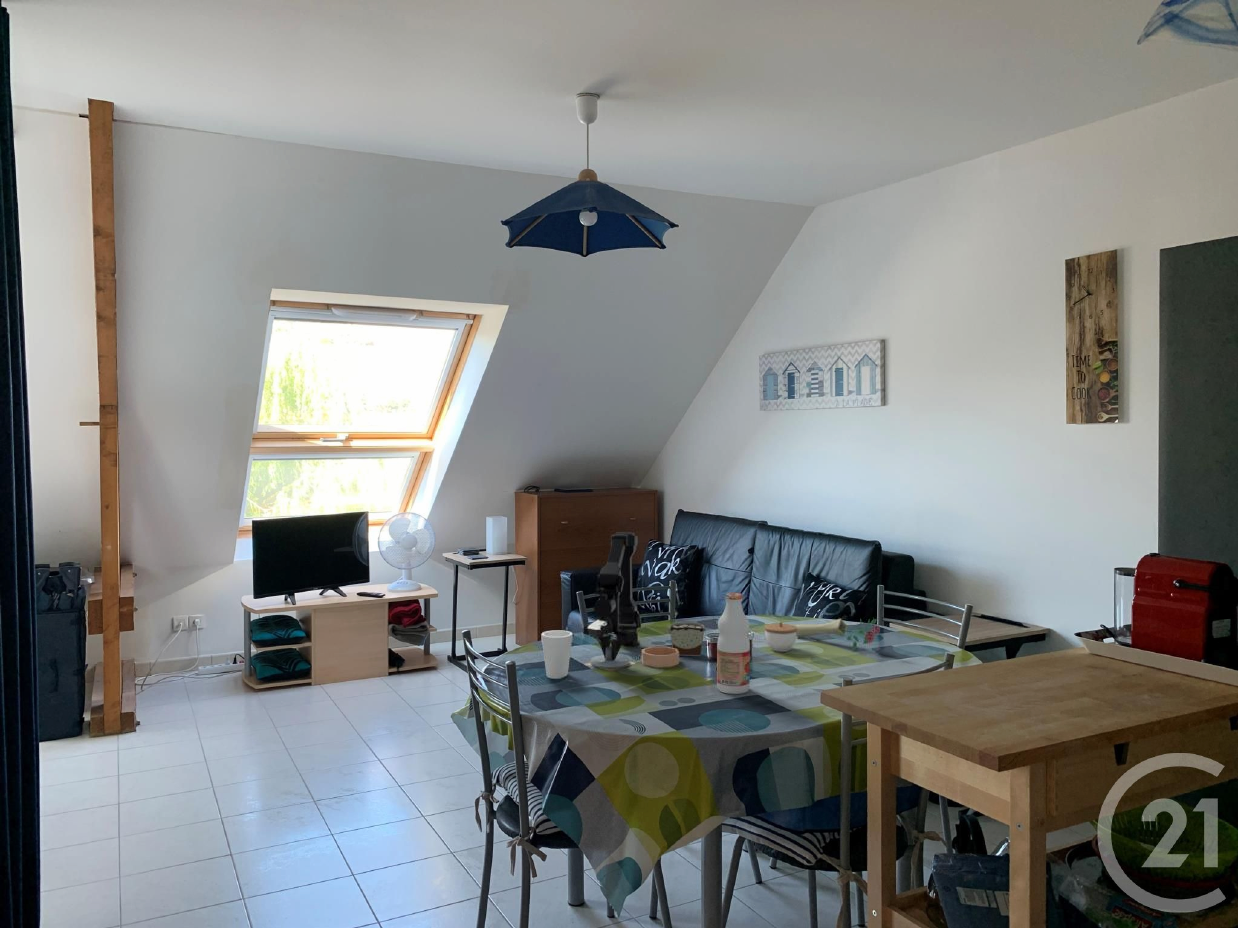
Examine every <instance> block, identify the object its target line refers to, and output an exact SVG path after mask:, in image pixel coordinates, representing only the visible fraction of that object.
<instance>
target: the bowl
mask: <svg viewBox="0 0 1238 928" xmlns="http://www.w3.org/2000/svg"><path fill="white" fill-rule="evenodd" d="M641 663H642V665H643V666H647V667H651V668H672V667H674V666H677V665H679V664H680V655H679V651H678V650H677V649H676V648H672V646H665V645H664V646H663V645H662V646H649V647H648V646H647V647H646V648H645V647H644V648H643V649H641Z"/></svg>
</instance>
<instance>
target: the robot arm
mask: <svg viewBox="0 0 1238 928" xmlns="http://www.w3.org/2000/svg"><path fill="white" fill-rule="evenodd" d="M638 538H639V537H638V536H637V535H636V534H635V533H634V532H623V531H621V532H617V531H616V533H614V534H610V551H609V554H608V557H607V562H606V564H605V565H604V566H602V567H601V568H600V572H599V574H597V578H596V584H595V591H594V595H596V596H599V599H598V600H596V601H595V603H594V605H593V610H594V611H593V612H594V613H595V614H596V616H597V620H595V621H593V622H592V623H587V624H585V625H584V626H583V627H582V633H583V635H587V636H589V638H593V639H595V640H596V641H597V642H598V643H599V645H600V648H601V652H602V655H604V657H605V658H606V647H607V646H611V647H612V660H615V659H616V657H617V655H618V654H619V652H620V650H621V649H622V648H621V647H622V646H623V647H635V646H637V645H640V644H641V642H640V641H639V640H638V639H639V638H638V635H639V633H638V629H641V628H642V618H641V615H640V612H639V611H638V605H637V603H636V601H635V600H634V598H633V560H632V559H633V556H634V554H635V552H636V551H637V547H638V543H639V539H638Z"/></svg>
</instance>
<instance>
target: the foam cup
mask: <svg viewBox="0 0 1238 928" xmlns="http://www.w3.org/2000/svg"><path fill="white" fill-rule="evenodd" d="M540 635H541V638H540V639H541V641H540V642H541V643H542V651H543V658H544V659H543V660H544V665H545V673H546V677H547V678H549V679H554V680H555V679H556V680H558V679H559V680H560V679H563V678H564V677H566V676H568V674H569V667H570V659H571V651H572V642H573V641H574V640H573V637H574V636H573V632H571V631H567V630H563V629H562V630H560V629H559V630H553V629H552V630H547V631H546V630H545V631H543V632H542V633H541V634H540Z"/></svg>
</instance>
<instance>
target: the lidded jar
mask: <svg viewBox="0 0 1238 928" xmlns="http://www.w3.org/2000/svg"><path fill="white" fill-rule="evenodd" d="M796 631H797V628H796V627H795V625H793V624H788V623H783V622H782V621H779V623H769V624H766V625H765V626H764V635H765V640H766V643H767V645H768V646H769V648H771V650H772V651H773V652H780V653H781V652H783V653H784V652H789V651H790V650H791V649H792V648H793V646H794V645H795V644H796V639H797V636H796Z"/></svg>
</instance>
